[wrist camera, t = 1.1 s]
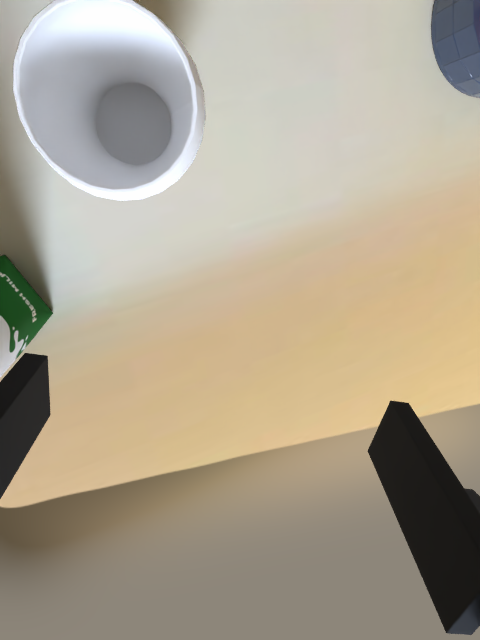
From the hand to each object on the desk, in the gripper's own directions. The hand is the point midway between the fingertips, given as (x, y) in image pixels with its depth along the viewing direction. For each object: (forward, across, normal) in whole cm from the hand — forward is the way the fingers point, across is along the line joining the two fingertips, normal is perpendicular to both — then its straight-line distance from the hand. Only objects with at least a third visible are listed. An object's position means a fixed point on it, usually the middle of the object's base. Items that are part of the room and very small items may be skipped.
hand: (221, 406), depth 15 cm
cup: (+27, -9, +8) cm, 30 cm away
